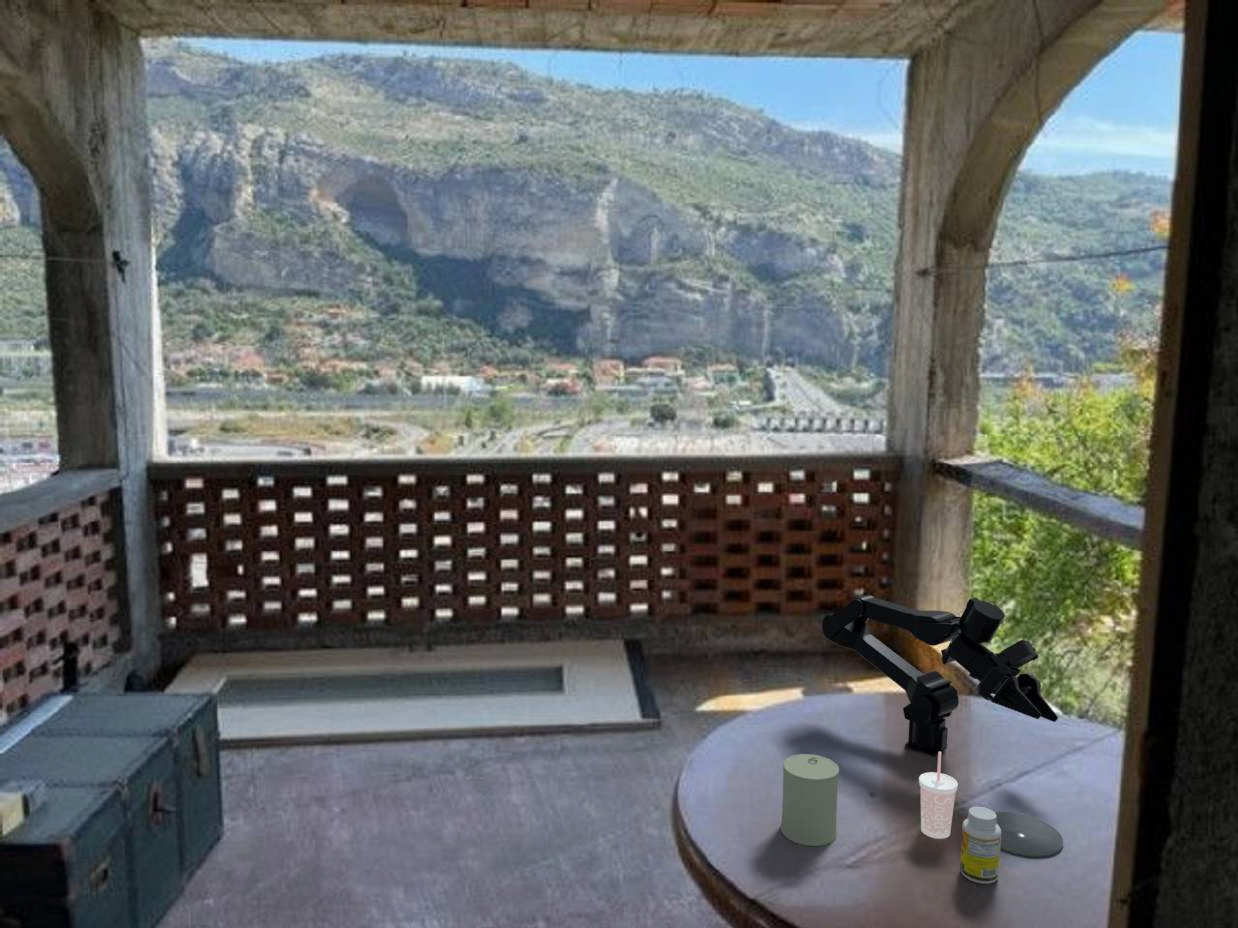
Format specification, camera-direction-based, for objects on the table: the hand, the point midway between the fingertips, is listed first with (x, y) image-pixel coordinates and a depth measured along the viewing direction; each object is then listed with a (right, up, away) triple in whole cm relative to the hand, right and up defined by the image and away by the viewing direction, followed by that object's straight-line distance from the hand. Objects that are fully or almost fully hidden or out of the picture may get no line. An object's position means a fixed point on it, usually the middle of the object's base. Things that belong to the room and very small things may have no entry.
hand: (1048, 718), depth 164 cm
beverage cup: (-23, -16, -10) cm, 30 cm away
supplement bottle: (-21, -18, -22) cm, 36 cm away
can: (-45, -16, -10) cm, 49 cm away
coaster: (-10, -16, -11) cm, 22 cm away
